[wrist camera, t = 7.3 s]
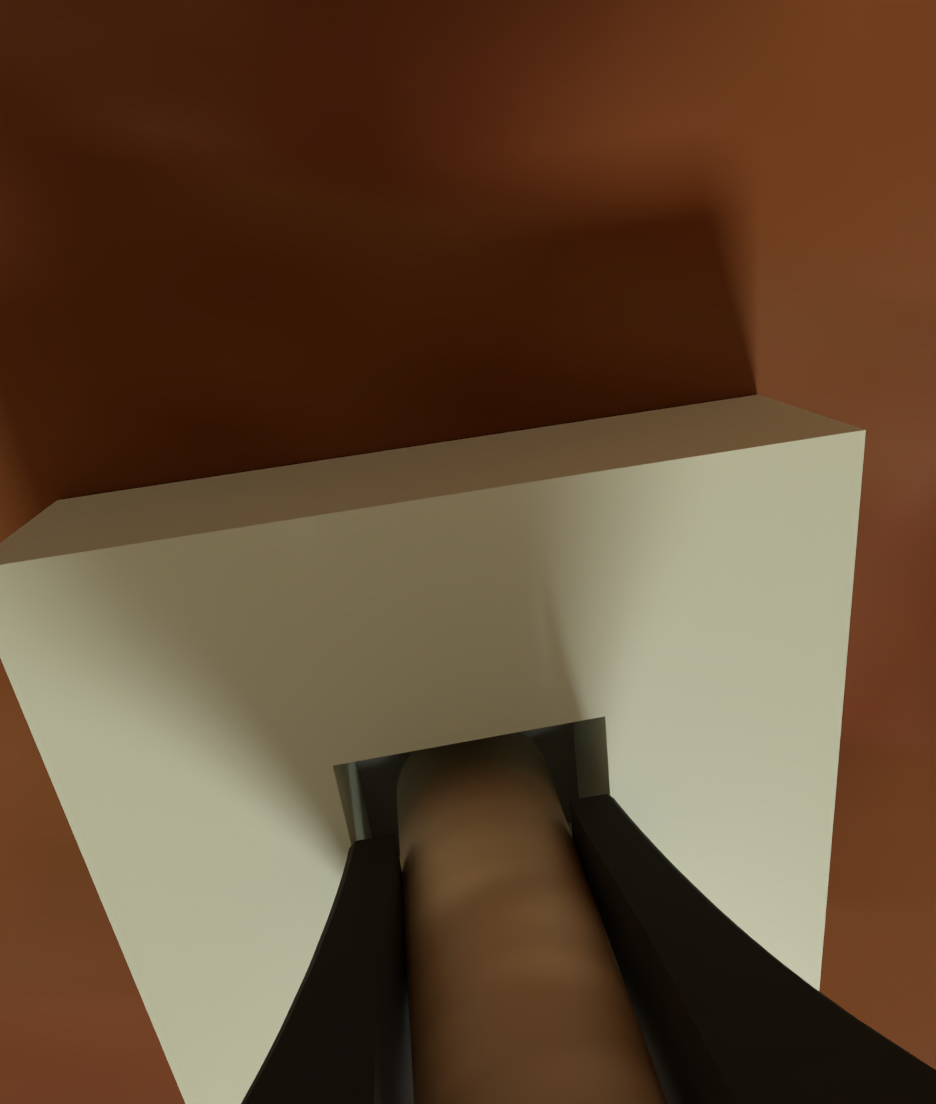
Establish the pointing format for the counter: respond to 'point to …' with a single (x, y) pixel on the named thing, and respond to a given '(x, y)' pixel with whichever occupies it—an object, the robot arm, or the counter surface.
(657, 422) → the hole block
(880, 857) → the counter surface
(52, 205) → the counter surface
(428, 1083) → the dowel
